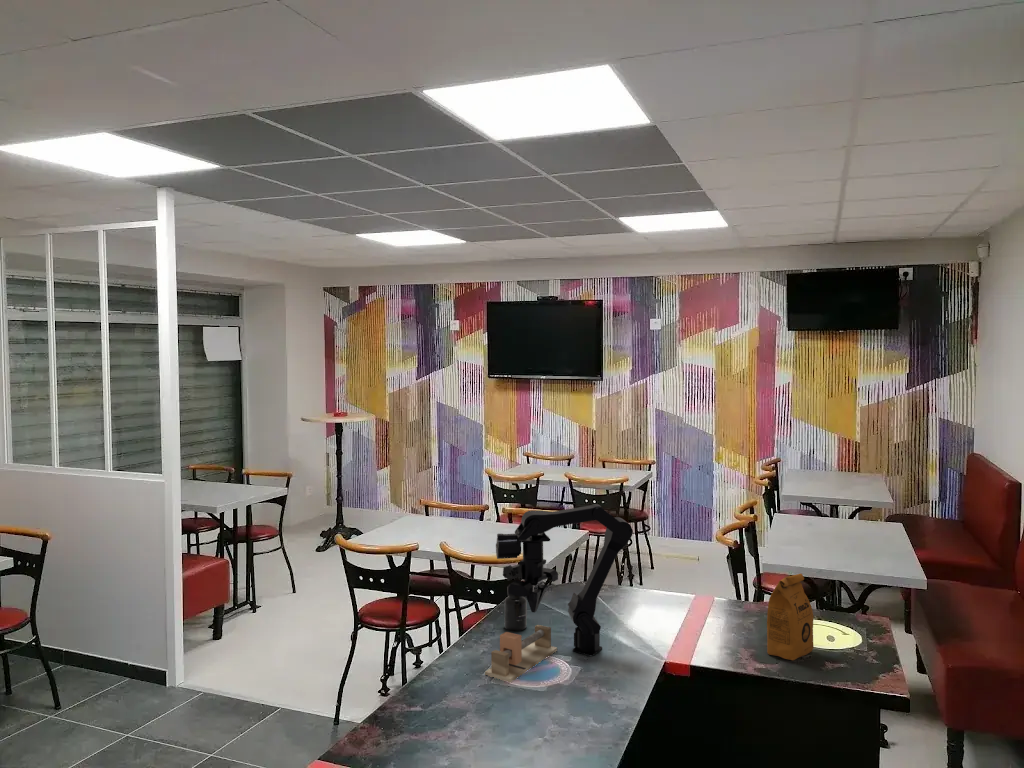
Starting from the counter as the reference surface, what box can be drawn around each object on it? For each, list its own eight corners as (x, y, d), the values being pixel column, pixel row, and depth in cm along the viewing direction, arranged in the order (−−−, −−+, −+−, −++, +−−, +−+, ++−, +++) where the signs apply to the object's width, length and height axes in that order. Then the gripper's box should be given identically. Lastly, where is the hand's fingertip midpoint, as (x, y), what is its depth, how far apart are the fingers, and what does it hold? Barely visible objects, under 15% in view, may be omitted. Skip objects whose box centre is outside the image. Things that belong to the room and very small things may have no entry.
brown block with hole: (506, 657, 198) (506, 631, 198) (521, 661, 195) (521, 635, 195) (500, 661, 195) (499, 635, 195) (515, 665, 193) (515, 639, 192)
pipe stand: (533, 645, 212) (533, 622, 212) (557, 651, 208) (557, 628, 208) (485, 675, 192) (484, 651, 192) (510, 682, 188) (510, 657, 188)
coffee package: (819, 654, 204) (820, 576, 203) (793, 665, 197) (793, 584, 196) (788, 643, 212) (788, 568, 211) (761, 653, 205) (761, 575, 204)
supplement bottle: (524, 632, 222) (524, 593, 222) (502, 630, 224) (502, 591, 223) (528, 624, 229) (528, 586, 229) (507, 622, 230) (506, 585, 230)
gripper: (525, 545, 217) (526, 597, 218) (490, 561, 202) (491, 617, 202) (558, 550, 211) (559, 604, 212) (525, 566, 196) (526, 624, 196)
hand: (533, 611), depth 206 cm, fingers closed
